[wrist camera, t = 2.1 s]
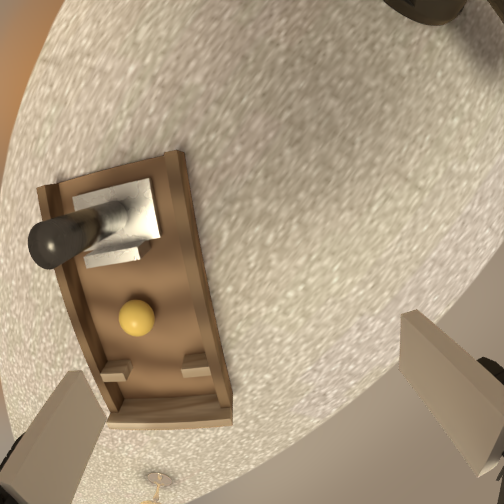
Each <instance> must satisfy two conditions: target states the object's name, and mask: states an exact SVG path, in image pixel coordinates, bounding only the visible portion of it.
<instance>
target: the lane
mask: <svg viewBox="0 0 504 504" xmlns="http://www.w3.org/2000/svg"><path fill="white" fill-rule="evenodd" d="M148 178H152V184H153V190H154V196H155V201H156V206H157V212H158V217H159V222H160V227H161V232H162V236H161V237H160V238H155V239H149V242H150V246H151V250H150V251H149V252H148V253H147V254H145V255H144V256H143V257H142V258H141V259H140V260H134V261H128V262H122V263H116V264H110V265H104V266H98V267H93V268H87V269H86V265H85V261H84V256H86V255H87V254H89V253H90V252H92V251H94V250H90V251H85V252H84V251H83V252H81V253H79V254H78V255H76V256H74V257H73V258H71V259H69V260H68V261H66V262H64V263H63V264H61V265H59V266H58V267H56V268H54V270H55V273H56V277H57V280H58V284H59V287H60V290H61V293H62V297H63V300H64V303H65V306H66V309H67V312H68V315H69V317H70V320H71V323H72V326H73V329H74V331H75V334H76V337H77V339H78V342H79V344H80V347H81V349H82V352H83V354H84V357H85V359H86V361H87V364H88V366H89V368H90V371H91V373H92V375H93V377H94V380H95V382H96V384H97V386H98V388H99V390H100V392H101V395H102V397H103V399H104V401H105V403H106V405H107V407H108V409H109V411H110V415H109V417H108V420H107V422H106V423H107V425H108V427H109V429H121V430H174V429H196V428H210V427H222V426H232V425H233V392H232V388H231V384H230V380H229V376H228V372H227V367H226V363H225V359H224V355H223V350H222V346H221V342H220V337H219V333H218V328H217V324H216V319H215V315H214V310H213V305H212V301H211V296H210V291H209V286H208V282H207V277H206V272H205V267H204V262H203V257H202V252H201V246H200V241H199V236H198V230H197V225H196V220H195V214H194V208H193V203H192V197H191V191H190V185H189V179H188V173H187V167H186V161H185V155H184V152H181V151H178V150H174V151H169V152H165V153H164V156H160V157H155V158H151V159H147V160H142V161H138V162H134V163H130V164H126V165H122V166H118V167H114V168H110V169H106V170H103V171H99V172H95V173H92V174H88V175H85V176H81V177H78V178H74V179H71V180H68V181H65V182H61V183H57V184H50V185H44V186H41V187H38V188H37V194H38V200H39V206H40V211H41V216H42V221H46V220H49V219H52V218H55V217H58V216H61V215H65V214H68V213H71V212H75V209H74V204H73V198H72V197H75V196H78V195H82V194H86V193H90V192H93V191H97V190H101V189H105V188H109V187H113V186H117V185H122V184H126V183H130V182H134V181H139V180H143V179H148ZM131 300H141V301H144V302H146V303H147V304H148V305H149V306H150V307H151V308H152V310H153V312H154V316H155V322H154V325H153V328H152V329H151V331H150V332H149V333H147V334H146V335H144V336H139V337H136V336H131V335H129V334H127V333H126V332H125V331H124V330H123V329H122V328H121V326H120V323H119V312H120V309H121V308H122V306H123V305H124V304H125V303H127V302H128V301H131Z"/></svg>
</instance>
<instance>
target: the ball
mask: <svg viewBox="0 0 504 504" xmlns="http://www.w3.org/2000/svg"><path fill="white" fill-rule="evenodd" d="M154 322H155V316H154V312H153V310H152V308H151V307H150V306H149V305H148V304H147V303H146V302H144V301H141V300H131V301H128V302H127V303H125V304H124V305H123V306H122V308H121V309H120V312H119V323H120V326H121V328H122V329H123V330H124V331H125V332H126V333H127V334H129V335H131V336H136V337H139V336H144V335H146V334H147V333H149V332H150V331H151V329H152V328H153V325H154Z"/></svg>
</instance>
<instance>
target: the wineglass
mask: <svg viewBox="0 0 504 504" xmlns="http://www.w3.org/2000/svg"><path fill="white" fill-rule="evenodd" d="M148 479H149V480H150V481H151V482H152V483H154V484H156V485H157V489H156V493H155V495H154V496H153V500H154V501H152V500H146V501H143V502H141V503H140V504H162V503H160V502H157V501H158V500H159V488H160V486H168V485H170V484H171V483H172V480H171V478H170V477H168V476H167V475H164V474H161V473H150V474H149V475H148Z"/></svg>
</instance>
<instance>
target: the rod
mask: <svg viewBox="0 0 504 504" xmlns="http://www.w3.org/2000/svg"><path fill="white" fill-rule="evenodd" d="M72 198H73V204H74V209H75V212H71V213H68V214H65V215H61V216H58V217H55V218H52V219H49V220H46V221H43V222H40V223H37V224H36V225H34V226H33V228H32V229H31V231H30V233H29V237H28V248H29V252H30V255H31V257H32V258H33V260H34V261H35V263H36V264H37V265H39V266H40V267H42V268H44V269H54V268H56V267H58V266H59V265H61V264H63V263H64V262H66V261H68V260H69V259H71V258H73V257H74V256H76V255H78V254H79V253H81V252H83V251H84V252H85V251H90V250H94V251H92V252H90V253H89V254H87V255H86V256H84V261H85V265H86V269H87V268H93V267H98V266H104V265H110V264H116V263H122V262H128V261H134V260H140V259H141V258H142V257H143V256H144V255H145V254H147V253H148V252H149V251H150V250H151V246H150V242H149V239H155V238H160V237H161V236H162V232H161V227H160V222H159V217H158V212H157V206H156V201H155V196H154V190H153V184H152V178H148V179H143V180H139V181H134V182H130V183H126V184H122V185H117V186H113V187H109V188H105V189H101V190H97V191H93V192H90V193H86V194H82V195H78V196H75V197H72Z"/></svg>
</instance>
